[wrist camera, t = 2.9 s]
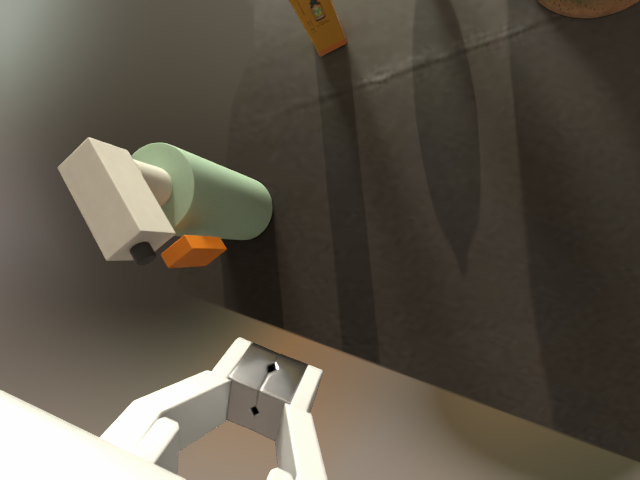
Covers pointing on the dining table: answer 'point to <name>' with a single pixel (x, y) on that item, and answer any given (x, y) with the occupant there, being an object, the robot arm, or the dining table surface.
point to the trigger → (193, 251)
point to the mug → (587, 7)
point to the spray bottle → (160, 198)
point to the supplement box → (320, 24)
